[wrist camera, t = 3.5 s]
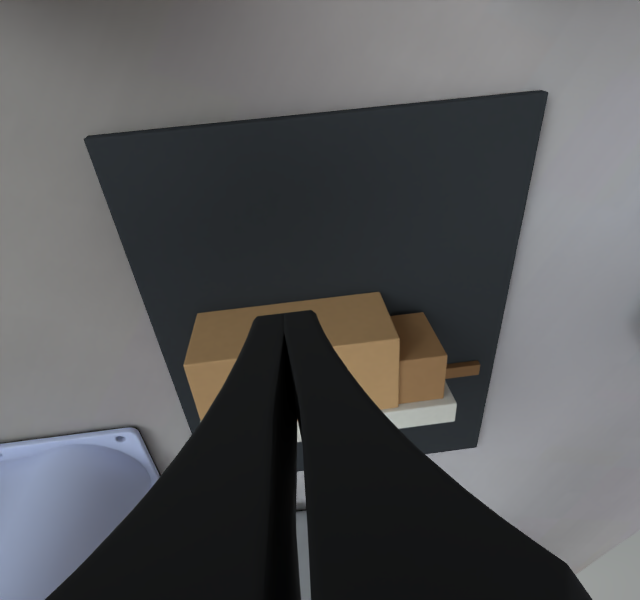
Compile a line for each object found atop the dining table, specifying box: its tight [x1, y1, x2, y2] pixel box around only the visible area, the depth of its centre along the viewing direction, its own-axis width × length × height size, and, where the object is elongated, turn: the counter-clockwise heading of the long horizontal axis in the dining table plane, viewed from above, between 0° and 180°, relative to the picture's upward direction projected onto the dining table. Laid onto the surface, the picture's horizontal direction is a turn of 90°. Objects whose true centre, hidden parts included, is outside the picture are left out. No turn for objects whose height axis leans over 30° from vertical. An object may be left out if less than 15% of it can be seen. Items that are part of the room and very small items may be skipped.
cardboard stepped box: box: [183, 292, 457, 442], centre depth 21 cm, size 12×5×4 cm, turn 94°
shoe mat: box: [84, 90, 548, 471], centre depth 23 cm, size 18×22×1 cm
